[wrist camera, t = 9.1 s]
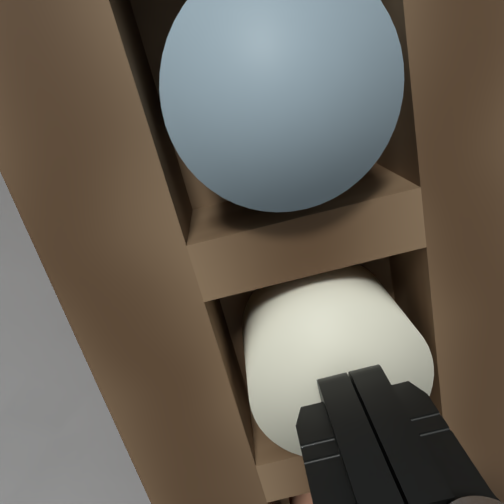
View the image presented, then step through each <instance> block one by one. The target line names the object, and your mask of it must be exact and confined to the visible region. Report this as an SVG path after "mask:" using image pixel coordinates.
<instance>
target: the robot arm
mask: <svg viewBox="0 0 504 504" xmlns="http://www.w3.org/2000/svg"><path fill="white" fill-rule="evenodd" d="M317 385H318V390H319V394H320V399H321V402H320V403H316V404H312V405H307V406H303V407H301V408H300V412H299V415H298V419H297V422H296V430H297V434H298V439H299V443H300V448H301V452H302V457H303V461H304V465H305V470H306V475H307V479H308V484H309V488H310V493H311V497H312V502H313V504H504V503H503V502H501V501H500V500H499V499H498V498H497V497H496V496H495V495H494V493H493V492H492V491H491V489H490V488H489V487H488V485H487V483H486V482H485V480H484V479H483V477H482V476H481V474H480V473H479V471H478V470H477V468H476V467H475V465H474V464H473V462H472V461H471V459H470V458H469V456H468V455H467V453H466V452H465V450H464V449H463V447H462V446H461V444H460V443H459V441H458V439H457V438H456V436H455V435H454V433H453V432H452V430H451V431H450V429H449V426H448V424H447V423H446V421H445V420H444V418H443V417H442V415H440V413H439V411H438V409H437V408H436V406H435V405H434V403H433V402H432V400H431V399H430V397H429V396H428V394H427V393H425V392H424V391H423V390H421V389H420V388H418V387H417V386H415V385H414V384H412V383H411V382H409V381H406V382H402V383H398V384H394V385H391V383H390V382H389V380H388V378H387V376H386V375H385V373H384V371H383V369H382V368H381V366H380V365H379V364H378V365H373V366H369V367H365V368H361V369H357V370H353V371H349V372H348V374H347V372H345V373H341V374H337V375H333V376H329V377H325V378H321V379H317Z"/></svg>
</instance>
